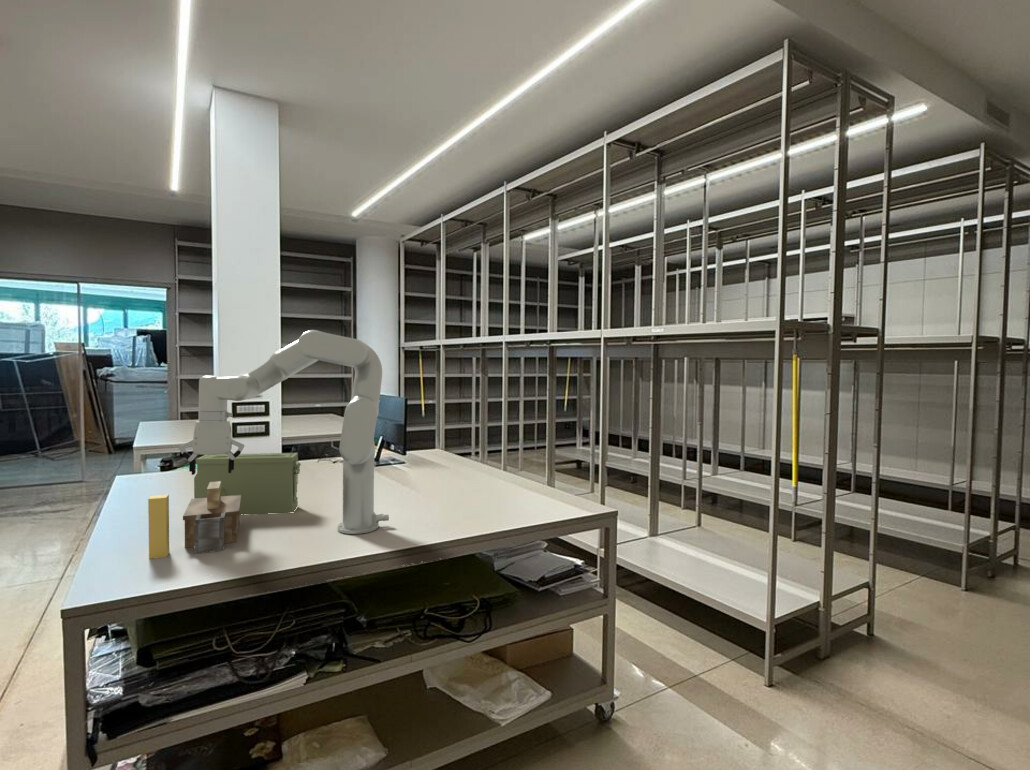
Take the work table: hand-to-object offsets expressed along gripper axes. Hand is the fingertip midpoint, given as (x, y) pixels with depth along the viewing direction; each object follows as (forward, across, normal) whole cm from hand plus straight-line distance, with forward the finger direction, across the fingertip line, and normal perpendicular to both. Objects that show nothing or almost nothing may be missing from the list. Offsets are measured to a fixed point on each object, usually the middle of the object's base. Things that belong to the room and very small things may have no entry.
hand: (211, 473), depth 163 cm
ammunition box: (+19, -10, -24) cm, 33 cm away
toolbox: (+19, -1, +3) cm, 19 cm away
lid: (+12, -1, +3) cm, 12 cm away
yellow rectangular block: (+19, +11, +14) cm, 26 cm away
